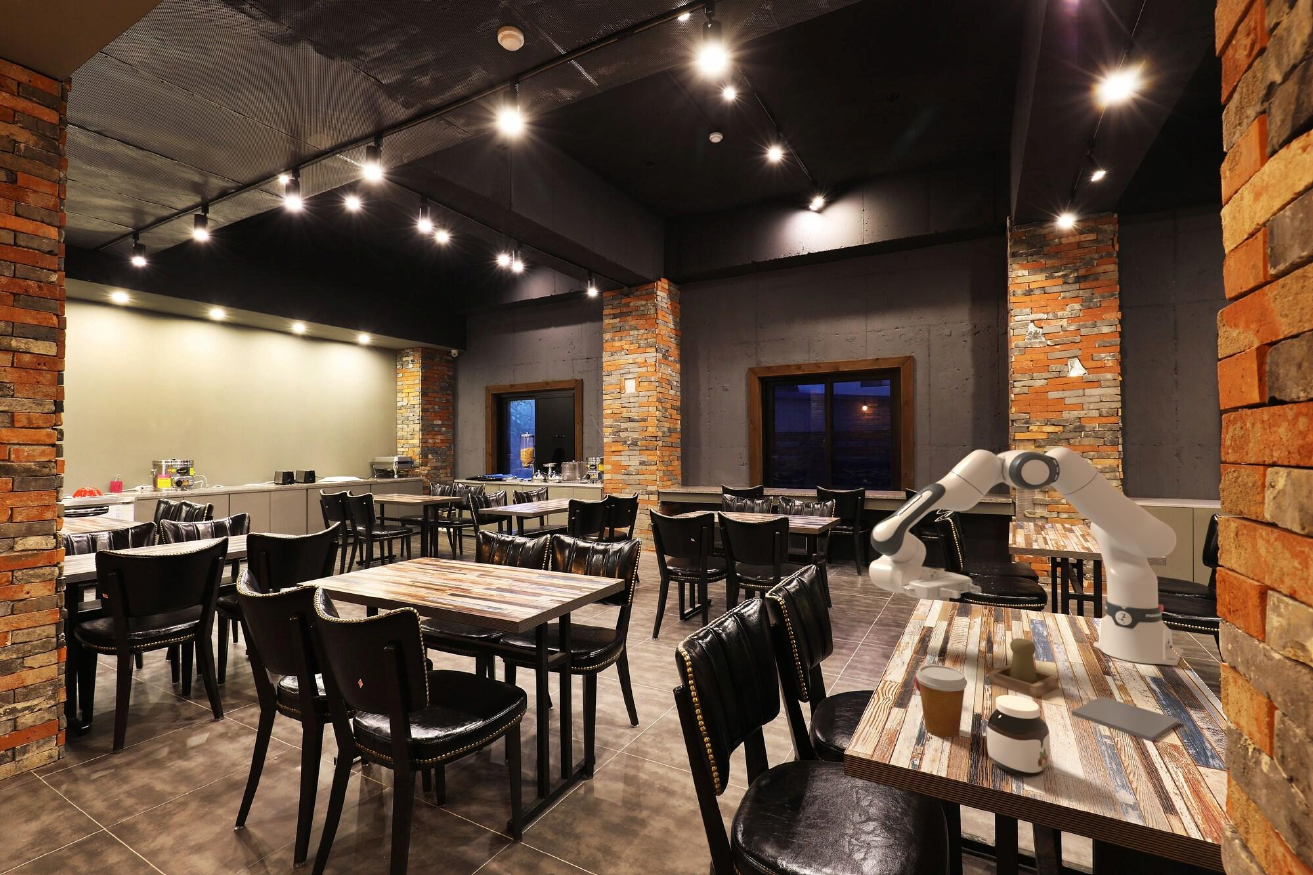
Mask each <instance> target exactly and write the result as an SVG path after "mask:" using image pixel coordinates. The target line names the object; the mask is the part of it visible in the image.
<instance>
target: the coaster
mask: <svg viewBox="0 0 1313 875" xmlns="http://www.w3.org/2000/svg"><path fill="white" fill-rule="evenodd" d="M1071 715H1072V716H1074V717H1078V718H1080V719H1083V720H1085V721H1090V722H1093V723H1095V724H1099V725H1101V726H1105V727H1108V728H1111V729H1114V730H1117V731H1119V732H1122V733H1125V734H1128V735H1131V736H1134V737H1138V738H1141V739H1143V740H1146V741H1149V742H1153V741H1155V740H1156V739H1158V738H1160V737H1161V736H1163V735H1164V734H1165V733H1167V732H1169V731H1170V730H1171V729H1173V728H1174V727H1177V726H1178V725H1179V724H1180V719H1179V718H1176V717H1172V716H1169V715H1165V714H1162V713H1159V712H1155V711H1153V710H1149V709H1145V708H1142V707H1139V706H1135V705H1132V704H1129V703H1127V702H1122V701H1119V700H1116V699H1112V698H1110V697H1109V698H1108V697H1106V696H1104V695H1103V696H1102V695H1101V696H1099V697H1096V698H1095V699H1093V700H1091V701H1089V702H1087V703H1085V704H1083V705H1081V706H1079V707H1077V708H1075V709H1073V710H1072V711H1071Z"/></svg>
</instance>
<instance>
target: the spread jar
mask: <svg viewBox="0 0 1313 875" xmlns="http://www.w3.org/2000/svg"><path fill="white" fill-rule="evenodd" d="M985 736H986V747H987V748H986V749H987V753H988V757H989V759H991V761H992V762H993V763H994V764H995V765H997V766H998V767H999V768H1000V769H1002V770H1004V771H1005V772H1006V773H1009V774H1011V775H1015V776H1017V777H1022V778H1023V777H1024V778H1035V777H1036V776H1037V777H1038V776H1040V775H1042V774H1043V773H1044V772H1045V770H1046V769H1047V768H1048V765H1049V763H1050V757H1051V756H1050V755H1051V741H1050V739H1051V738H1050V729H1049V726H1048V724H1047V722H1046V721H1045V720H1044V719H1043V718H1042V717H1041V716H1040V706H1039V704H1038V703H1036V702H1035V701H1033V700H1031V699H1029V698H1026V697H1023V696H1018V695H1009V694H1007V695H1006V694H1004V695H999V696H997V697H996V698H995V709H994V711H993V712H991V714H990V716H989V717H988V720H987V725H986V727H985ZM1037 777H1036V778H1037Z"/></svg>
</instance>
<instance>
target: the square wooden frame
mask: <svg viewBox="0 0 1313 875" xmlns="http://www.w3.org/2000/svg"><path fill="white" fill-rule="evenodd" d="M1011 664H1012V663H1010V664H1007V665H1004V666H1002V667H999V668H997V669H994V670H991V671H989V672H988V683H989V684H992V685H996V686H999V687H1002V688H1004V689H1007V690H1010V691H1013V692H1016V693H1019V694H1023V695H1026V696H1029V697H1032V698H1035V699H1036V698H1039V697H1041V696H1043V695H1045V694H1048V693H1049V692H1052V691H1054V690H1056V689H1058V688H1060V684H1059V682H1060V681H1059V679H1060V678H1059V676H1058V675H1057V676H1056V675H1052V674H1050V673H1046V672H1042V671H1039V670H1036V669H1035V672H1036V677H1037V683H1034V684H1030V683H1027V682H1024V681H1021V680H1018V679H1014V678H1011V677H1010V672H1011Z"/></svg>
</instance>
